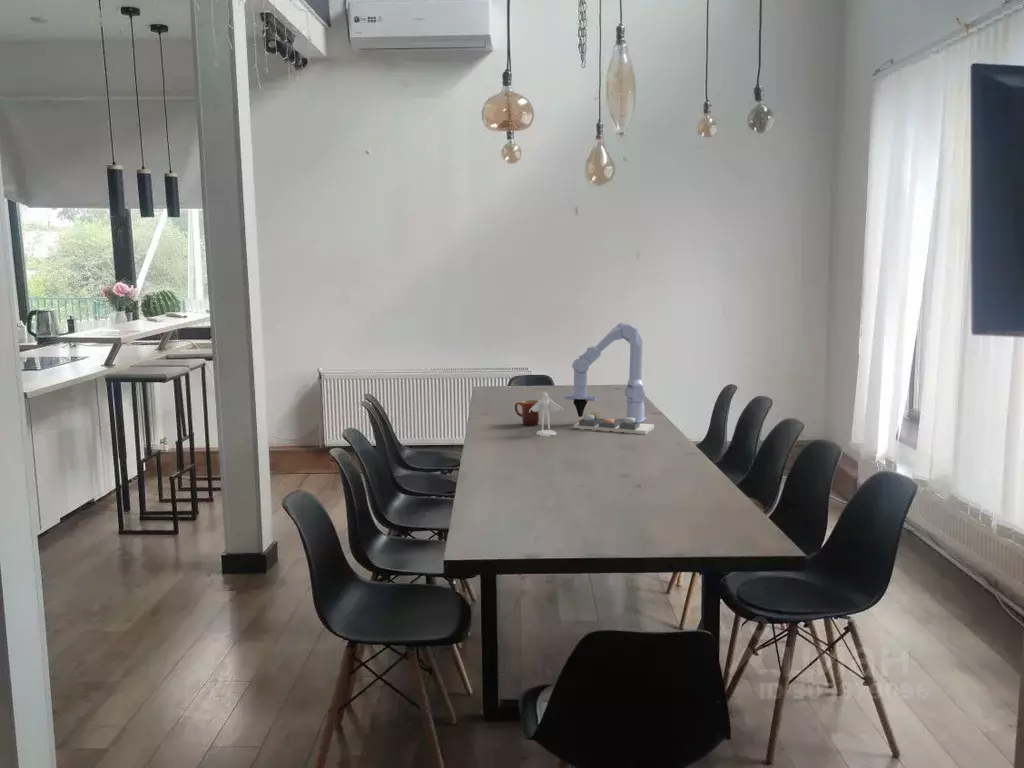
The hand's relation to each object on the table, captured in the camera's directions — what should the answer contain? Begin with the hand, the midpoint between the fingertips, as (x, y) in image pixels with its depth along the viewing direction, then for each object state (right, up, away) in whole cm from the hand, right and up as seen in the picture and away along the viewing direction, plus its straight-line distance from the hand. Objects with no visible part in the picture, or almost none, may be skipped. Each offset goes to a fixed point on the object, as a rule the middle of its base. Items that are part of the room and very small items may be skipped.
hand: (580, 416), depth 357 cm
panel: (+13, -5, -10) cm, 17 cm away
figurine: (-16, -7, -18) cm, 25 cm away
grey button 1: (+3, -2, -9) cm, 10 cm away
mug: (-23, -4, +1) cm, 24 cm away
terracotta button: (+11, -3, -12) cm, 17 cm away
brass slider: (+6, -2, -2) cm, 7 cm away
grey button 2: (+19, -3, -16) cm, 25 cm away
